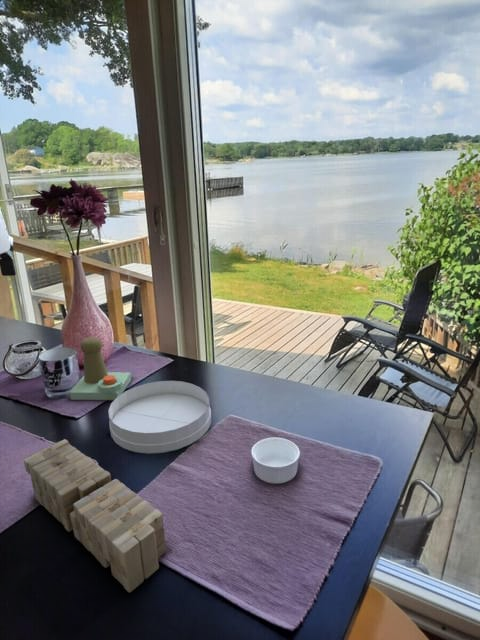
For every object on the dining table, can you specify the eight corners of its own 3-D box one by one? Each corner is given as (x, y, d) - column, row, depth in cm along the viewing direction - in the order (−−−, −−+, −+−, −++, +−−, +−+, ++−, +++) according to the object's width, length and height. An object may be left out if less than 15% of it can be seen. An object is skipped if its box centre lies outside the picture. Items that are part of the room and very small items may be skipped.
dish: (144, 392, 111) (142, 375, 109) (226, 406, 104) (225, 387, 102) (88, 443, 92) (85, 423, 90) (184, 464, 84) (182, 442, 83)
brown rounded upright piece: (113, 375, 115) (107, 336, 112) (95, 385, 110) (89, 345, 107) (97, 371, 118) (91, 333, 115) (79, 380, 113) (72, 341, 110)
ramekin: (244, 462, 84) (244, 443, 83) (286, 451, 87) (286, 432, 86) (263, 492, 77) (263, 472, 75) (308, 479, 80) (308, 459, 78)
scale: (70, 401, 108) (67, 387, 107) (88, 380, 119) (85, 366, 117) (119, 402, 107) (117, 387, 106) (132, 380, 118) (131, 366, 117)
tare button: (102, 385, 108) (101, 380, 107) (106, 380, 110) (105, 374, 110) (113, 385, 108) (112, 380, 107) (117, 380, 110) (116, 374, 110)
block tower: (173, 562, 65) (72, 472, 83) (170, 518, 62) (66, 435, 80) (128, 601, 59) (30, 495, 77) (122, 554, 56) (22, 456, 74)
